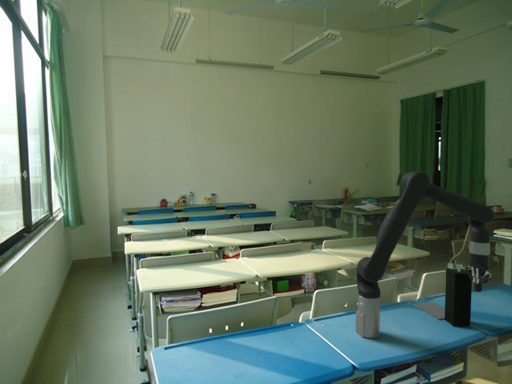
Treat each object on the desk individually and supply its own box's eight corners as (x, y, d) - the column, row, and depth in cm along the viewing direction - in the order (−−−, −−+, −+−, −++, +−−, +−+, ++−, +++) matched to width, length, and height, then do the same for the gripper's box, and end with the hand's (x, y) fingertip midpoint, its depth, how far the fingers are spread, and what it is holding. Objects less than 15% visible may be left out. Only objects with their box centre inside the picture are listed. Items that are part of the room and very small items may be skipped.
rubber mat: (438, 319, 164) (438, 318, 164) (413, 305, 183) (413, 304, 182) (460, 317, 167) (460, 316, 167) (433, 303, 185) (433, 302, 185)
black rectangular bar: (470, 326, 157) (472, 266, 155) (453, 326, 157) (455, 266, 156) (460, 319, 165) (462, 261, 163) (444, 319, 165) (446, 261, 163)
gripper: (459, 249, 154) (458, 287, 155) (485, 256, 141) (483, 297, 142) (474, 248, 155) (472, 285, 157) (500, 255, 143) (498, 296, 144)
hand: (477, 291), depth 149 cm, fingers closed
